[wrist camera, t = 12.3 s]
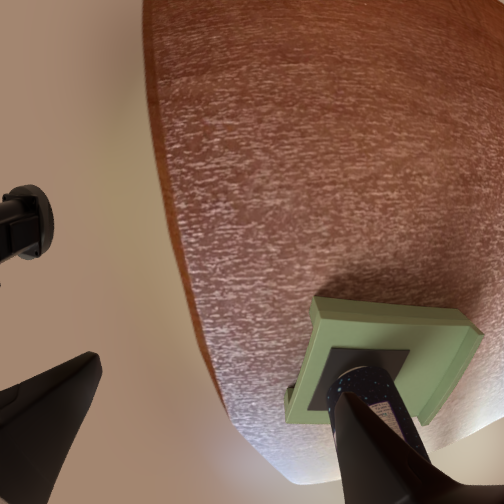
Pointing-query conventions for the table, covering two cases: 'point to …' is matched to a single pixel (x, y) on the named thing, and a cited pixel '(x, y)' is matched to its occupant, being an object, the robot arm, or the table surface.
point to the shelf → (383, 354)
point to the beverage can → (376, 402)
